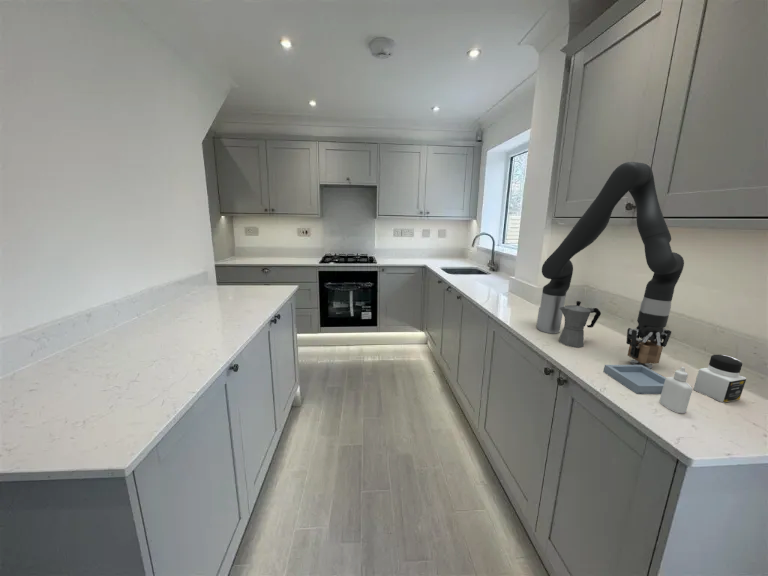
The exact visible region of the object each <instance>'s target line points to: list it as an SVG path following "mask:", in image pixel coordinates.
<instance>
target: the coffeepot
mask: <svg viewBox="0 0 768 576" xmlns="http://www.w3.org/2000/svg"><path fill="white" fill-rule="evenodd" d="M581 303H582V302H581V301H579V300H577V301H576V304H571V305H568V304H566V305H564V307H560V308H559V309H560V310H561V311H562V313H563V315H562V316H563V317H564V326H563V328H562V331H561V333H560V335H559V338H558V342H559V343H560V344H562V345H565V346H567V347H571V348H577V349H579V348H584V345H585V343H584V342H585V340H584V337H585V334H584V333H585V330H584V328H585V327H586V326H587V328H594V326H595V324H596V323H597V322H598V319H599V318H600V316H601V314H602V313H601V311H600V310H599V308H597V307H584V306H583V305H581ZM591 313H592V314H593V313H595V314H594V315H593V319H592V320H591V322H590V324H587V321H588V320H589V317H590V315H591Z"/></svg>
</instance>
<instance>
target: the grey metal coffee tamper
mask: <svg viewBox="0 0 768 576" xmlns="http://www.w3.org/2000/svg"><path fill="white" fill-rule="evenodd" d="M629 365H643V366H645V367H647V368H649V369H651V370H653V364H652V363H640V362H639V361H637V360H635V359H630V362H629Z"/></svg>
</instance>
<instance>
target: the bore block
mask: <svg viewBox="0 0 768 576" xmlns="http://www.w3.org/2000/svg"><path fill="white" fill-rule="evenodd" d="M631 341H632V340H631ZM638 342H639V341H638ZM638 342H636V344H638ZM631 348H632V346H631V345H629V347H628V351H627V357H629V358H631V359H632V360H637V361H639V362H640V363H650V364H660V359H661V356H662V352H663V348H664V347H661V346H659V345H656V344H655V343H652V342H650V340H648V341H646V342H645V343H644V344H642V345H641V347H640V348H639V349H640V351H639V355H638V358H634V357H632V356H631V355H630V352H631Z"/></svg>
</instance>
